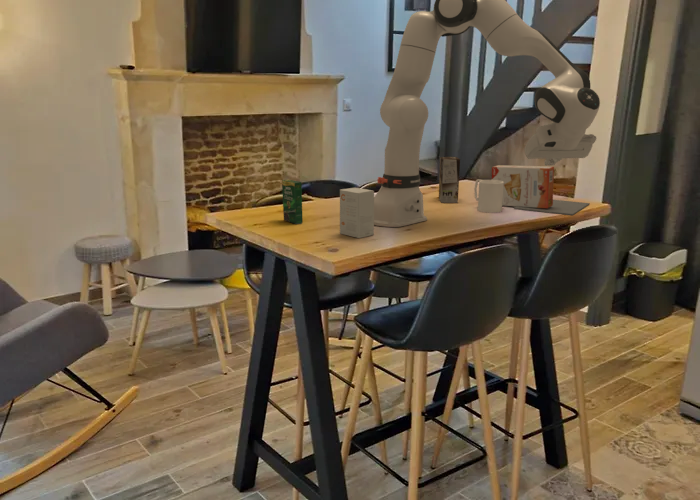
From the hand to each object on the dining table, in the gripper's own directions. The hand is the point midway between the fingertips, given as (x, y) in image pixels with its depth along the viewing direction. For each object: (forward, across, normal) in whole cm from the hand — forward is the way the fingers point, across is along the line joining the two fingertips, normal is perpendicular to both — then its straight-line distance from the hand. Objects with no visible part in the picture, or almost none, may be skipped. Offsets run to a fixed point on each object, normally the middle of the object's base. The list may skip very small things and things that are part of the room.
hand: (549, 163), depth 197 cm
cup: (+24, +14, +1) cm, 28 cm away
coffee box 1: (+16, +82, +10) cm, 84 cm away
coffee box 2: (+37, +22, -12) cm, 45 cm away
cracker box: (+15, -8, -2) cm, 17 cm away
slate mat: (+25, -12, -1) cm, 28 cm away
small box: (+2, +64, +23) cm, 68 cm away
